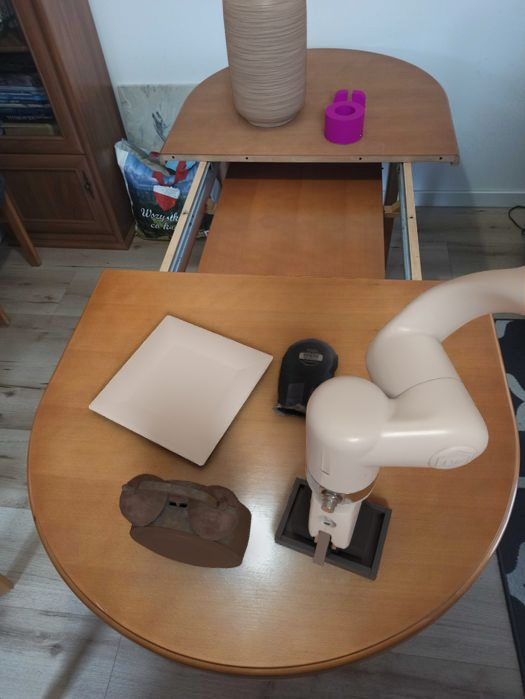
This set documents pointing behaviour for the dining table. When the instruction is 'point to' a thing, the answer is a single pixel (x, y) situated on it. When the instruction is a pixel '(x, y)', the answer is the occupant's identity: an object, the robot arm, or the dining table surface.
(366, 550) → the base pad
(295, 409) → the electronic device
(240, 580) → the dining table surface
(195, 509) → the alarm clock
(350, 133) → the magenta ring with prongs
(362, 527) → the black rectangular block
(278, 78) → the vase
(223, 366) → the plate
